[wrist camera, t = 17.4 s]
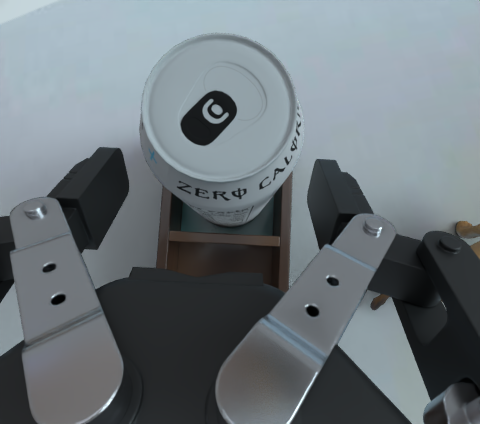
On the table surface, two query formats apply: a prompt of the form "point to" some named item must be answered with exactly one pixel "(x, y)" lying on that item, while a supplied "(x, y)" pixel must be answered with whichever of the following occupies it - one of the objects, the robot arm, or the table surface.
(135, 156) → the table surface
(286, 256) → the wooden divided box
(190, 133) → the energy drink can
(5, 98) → the table surface
